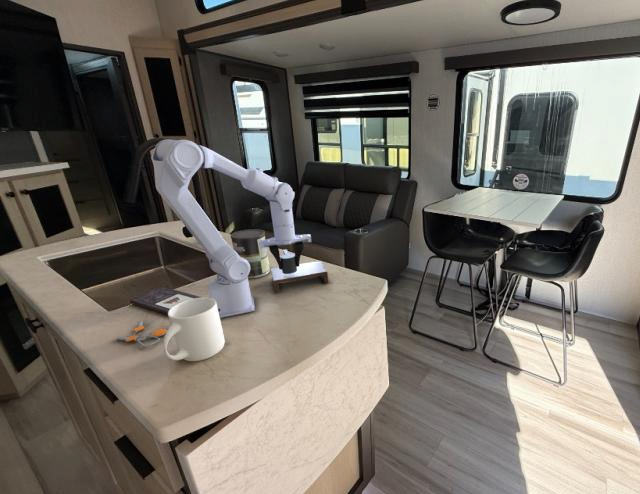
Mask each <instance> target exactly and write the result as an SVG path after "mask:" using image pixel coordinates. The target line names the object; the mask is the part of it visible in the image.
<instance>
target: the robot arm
mask: <svg viewBox="0 0 640 494" xmlns="http://www.w3.org/2000/svg"><path fill="white" fill-rule="evenodd" d="M150 159H151V161H152V164H153V171H154V182H155V189H156V191H157V192H158V194H159V195H160V197H162V199H163V200H164V201H165V202H166V204H167V205H168V206H169V208H170V209H171V210H172V212H174V214H175V215H176V216H177V217H178V219H179V220H180V221H181V223H182V224H183V225H184V226H185V228H186V229H187V230H188V231H189V233H190V234H191V235H192V236H193V238H194V239H195V240H196V242H197V243H198V244H199V246H200V247H201V248H202V249H203V250H204V252H205V257H206V258H207V259H208V262H209V267H210V270H212V272H214V273H216V279H215V280H212V281H211V280H210V281H209V282H208V293H209V298H212V299H214V300H215V301H216V304H217V308H218V312H219V317H220V319H223V318H227V317H231V316H232V317H233V316H236V315H241V314H246V313H252V312H254V311H255V310H256V309H255V299H254V296H252V293H251V289H250V283H249V279H248V275H249V272H250V264H249V262H248V261H247V260H246V259H244V258H242V257H240V256H239V255H238V254H237V252H236V251H235V250H234V249H233V247H231V246H230V245H229V244H228V243H227V241H226V240H225V239H224V237H223V236H222V235H221V233H220V231H218V229H217V228H216V225H214V224H213V222H212V221H211V220H210V218H209V217H208V215H207V214H206V212H205V211H204V209H202V207H201V205H200V204H199V203H198V202H197V200H196V199H195V197H194V196H193V195H192V193H191V192H190V190H189V189H188V187H189V185H190V182H191V179H192V177H193V176H194V175H195V174H196V173H197V171H198V170H199V169H200V168H202V169H209V168H210V169H212V170H215V171H217V172H220V173H221V174H224V175H226V176H229V177H231V178H234V179H236V180H238V181H240V183H241V185H242V187H243V188H244V189H246V190H248V191H249V192H253V193H254V194H257V195H259V196H261V197H263V198H265V199H266V200H267V201H268V202H269V207H270V214H271V220H272V228H273V235H274V237H271V238H265V240H260V241H259V246H260V249H263V248H265V247H267V248H268V249H269V252H270V253H271V255H272V256H273V258H274V259H275V262H277V265H278V268H279V269H280V270H281V269H282V265H281V260H280V256H281V254H280V248H279V247H280V246H286V245H293V250H294V254H295V256H296V265H297V267H299V264H300V260H301V256H302V254H303V250H304V248H305V244H304V243H312V236H311V234H309V233H308V234H296V233H295V232H296V231H295V223H294V214H293V200H294V199H295V194H296V193H295V191H293V187H291V185H290V184H288V183H287V182H280V181H279V178H278V177H276V176H271V175H268V174H266V173H265V172H264V170H263V169H262V168H260V167H256V168H255V167H250V168H247V169H246V168H244V167H243V166H241V165H239V164H237V163H236V162H234V161H232V160H230V159H228V158H226V157H225V156H223V155H221V154H219V153H217V152H216V151H214V150H212V149H210V148H208V147H206V146H203V145H200V144H197V143H195V142H194V141H191V140H188V139H178V140H175V139H163V140H160V141H158V143H157V144H156V145H155V147H154V150H153V152H152V154H151V157H150Z"/></svg>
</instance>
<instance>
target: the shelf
mask: <svg viewBox="0 0 640 494" xmlns="http://www.w3.org/2000/svg"><path fill="white" fill-rule="evenodd" d="M270 273H271V274H270V275H271V280H272V285H273V289H274V293H275V294H277V293H280V285H279V284H282V283H287V282H292V281H297V280H305V279H310V278H315V277H320V279H321V280H322V282H323V283H324V284H329V276H328V275H329V274H328V271H327V268H326V267H325V265H324V264H323V263H322V261H321V260H318V261H312V262H304V263H299V267H297V271H296V272H295V273H291V274H284V273H282V269H281V270H280V269H279V267H273V268H270Z"/></svg>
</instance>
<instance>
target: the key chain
mask: <svg viewBox="0 0 640 494" xmlns="http://www.w3.org/2000/svg"><path fill="white" fill-rule="evenodd" d="M145 328H146V327H145V325H144V320H142V321H139V322H138V324H137V327H135V328H133V331H134V333H133V334H132V335H130V336H117V338H116V340H119V341H125V342H132V341H135V342H137V343H138V344H140V345H141V346H142V347H144V348H148V347H150V346H152V345H155V344H156V343H158V342H159V341H160V340H161V338H160V337H163V336H165V335H166V332H167V331H168V328H159V329H157V330H154V331H152V332H151V333H150V334H144V333H139V334H137V333H138V332H139V331H142V330H144V329H145ZM147 338H148V339H152V338H154V339H157V340H155V341H153V342H152V343H149V344H144V343H143V342H142V341H144V340H146V339H147Z"/></svg>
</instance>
